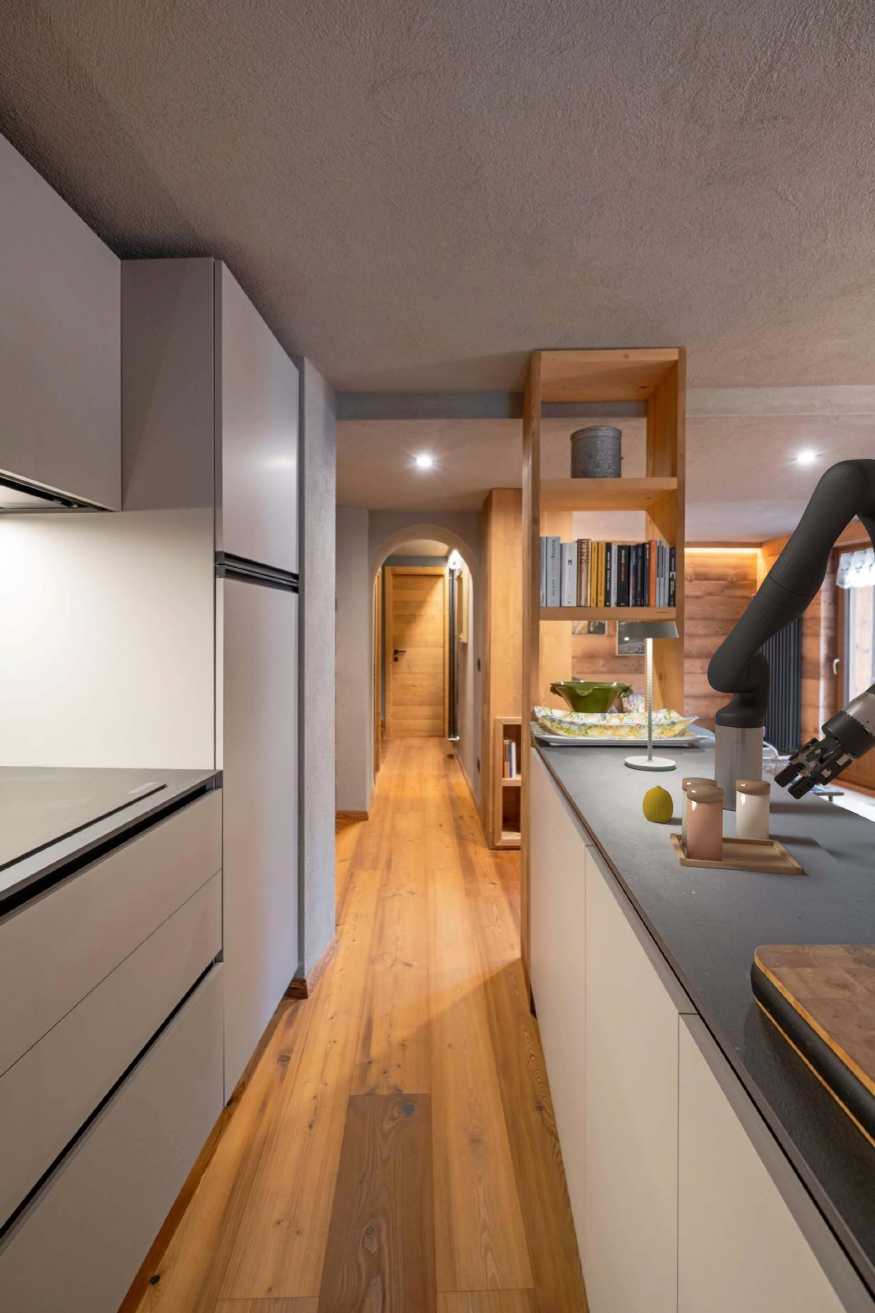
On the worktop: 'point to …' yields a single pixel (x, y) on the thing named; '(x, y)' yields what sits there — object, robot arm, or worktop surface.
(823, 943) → the worktop surface
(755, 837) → the white jar
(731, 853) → the tray
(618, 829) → the worktop surface
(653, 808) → the lemon
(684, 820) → the sage jar
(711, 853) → the terracotta jar
